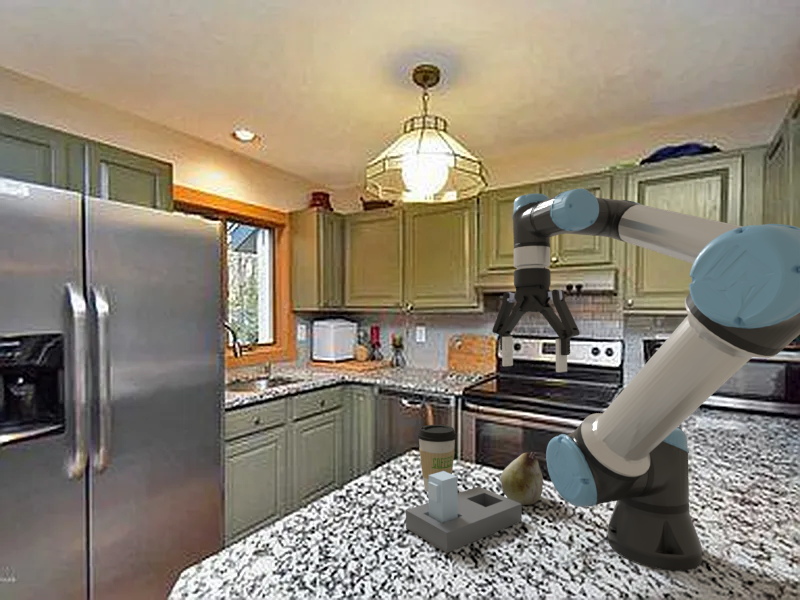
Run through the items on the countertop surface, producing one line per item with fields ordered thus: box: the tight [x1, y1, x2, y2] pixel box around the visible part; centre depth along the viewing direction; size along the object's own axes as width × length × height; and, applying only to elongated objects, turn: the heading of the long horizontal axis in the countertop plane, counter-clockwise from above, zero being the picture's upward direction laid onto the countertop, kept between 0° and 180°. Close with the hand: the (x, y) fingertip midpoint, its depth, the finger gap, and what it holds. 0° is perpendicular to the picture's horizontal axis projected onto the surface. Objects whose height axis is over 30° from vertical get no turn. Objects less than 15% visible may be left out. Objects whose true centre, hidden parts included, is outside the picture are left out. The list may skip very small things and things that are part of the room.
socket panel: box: [405, 486, 523, 554], centre depth 92 cm, size 12×21×4 cm, turn 127°
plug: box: [427, 471, 459, 523], centre depth 88 cm, size 4×5×11 cm
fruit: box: [500, 451, 544, 506], centre depth 104 cm, size 10×9×12 cm
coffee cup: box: [416, 424, 458, 492], centre depth 111 cm, size 10×10×15 cm
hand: (533, 368), depth 95 cm, fingers open, 13 cm apart
